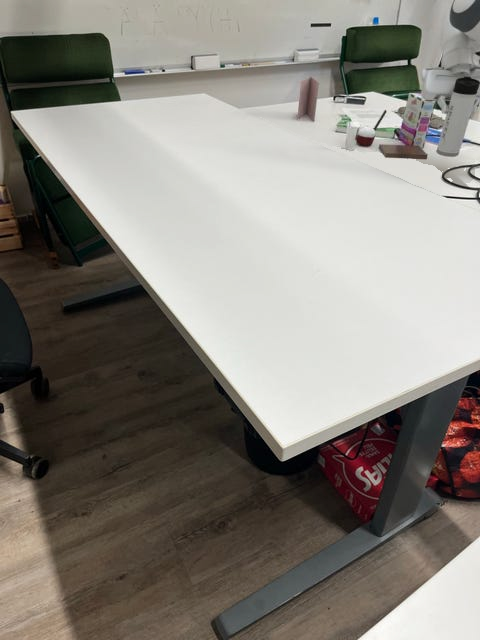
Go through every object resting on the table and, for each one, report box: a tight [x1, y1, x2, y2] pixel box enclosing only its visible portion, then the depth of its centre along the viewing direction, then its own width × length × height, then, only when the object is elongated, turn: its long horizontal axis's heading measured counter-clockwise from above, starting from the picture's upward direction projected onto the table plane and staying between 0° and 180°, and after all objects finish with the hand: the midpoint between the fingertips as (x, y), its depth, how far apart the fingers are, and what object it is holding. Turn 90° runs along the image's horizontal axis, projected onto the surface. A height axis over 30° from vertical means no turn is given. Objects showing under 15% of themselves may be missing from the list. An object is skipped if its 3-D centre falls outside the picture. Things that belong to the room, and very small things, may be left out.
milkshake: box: [344, 120, 362, 152], centre depth 162 cm, size 5×5×10 cm
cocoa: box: [356, 109, 388, 147], centre depth 167 cm, size 10×6×12 cm, turn 68°
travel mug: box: [436, 76, 480, 158], centre depth 135 cm, size 6×7×20 cm
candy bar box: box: [397, 92, 437, 150], centre depth 168 cm, size 11×5×16 cm, turn 10°
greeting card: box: [296, 76, 320, 122], centre depth 191 cm, size 11×7×15 cm, turn 154°
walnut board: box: [378, 143, 429, 160], centre depth 164 cm, size 14×10×2 cm
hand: (459, 113), depth 134 cm, fingers closed on travel mug, 6 cm apart
